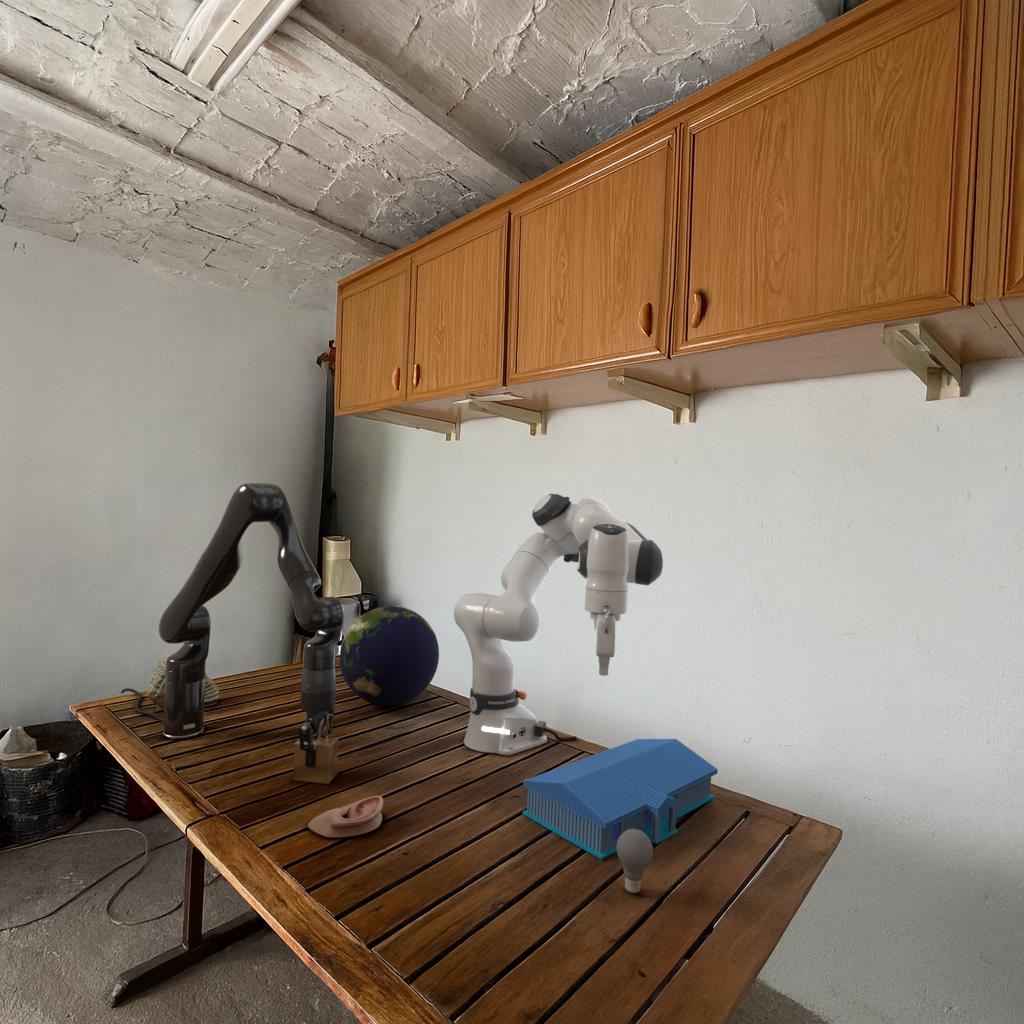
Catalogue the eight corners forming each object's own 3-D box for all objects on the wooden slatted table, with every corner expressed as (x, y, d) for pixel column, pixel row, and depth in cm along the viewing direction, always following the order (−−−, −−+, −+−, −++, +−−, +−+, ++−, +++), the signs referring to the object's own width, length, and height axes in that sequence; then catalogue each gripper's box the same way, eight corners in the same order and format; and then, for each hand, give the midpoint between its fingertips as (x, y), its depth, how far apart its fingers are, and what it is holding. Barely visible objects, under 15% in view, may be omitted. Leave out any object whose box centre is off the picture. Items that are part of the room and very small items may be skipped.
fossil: (144, 707, 182) (145, 655, 182) (212, 696, 194) (213, 647, 194) (151, 716, 175) (153, 662, 175) (221, 703, 188) (223, 653, 188)
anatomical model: (300, 812, 119) (329, 785, 130) (299, 833, 119) (328, 804, 130) (365, 822, 116) (390, 794, 127) (365, 843, 116) (389, 814, 127)
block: (328, 784, 140) (329, 746, 140) (293, 780, 141) (294, 743, 141) (337, 774, 145) (338, 738, 144) (302, 771, 146) (304, 735, 145)
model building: (615, 867, 112) (618, 811, 112) (520, 812, 130) (523, 764, 130) (727, 803, 138) (730, 758, 138) (636, 765, 157) (638, 725, 156)
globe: (316, 709, 186) (320, 608, 186) (375, 684, 214) (378, 595, 214) (403, 727, 175) (408, 619, 175) (453, 698, 203) (457, 604, 202)
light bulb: (610, 879, 108) (613, 822, 108) (644, 879, 109) (647, 822, 109) (619, 902, 102) (622, 840, 102) (655, 901, 103) (658, 840, 103)
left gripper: (320, 697, 135) (318, 776, 135) (346, 678, 149) (344, 750, 149) (287, 694, 136) (284, 773, 136) (316, 676, 150) (313, 747, 150)
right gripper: (624, 612, 121) (620, 683, 121) (619, 596, 141) (616, 658, 142) (590, 609, 122) (587, 681, 122) (590, 594, 142) (587, 656, 142)
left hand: (315, 761), depth 143 cm, fingers closed on block, 5 cm apart
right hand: (602, 668), depth 132 cm, fingers open, 8 cm apart
